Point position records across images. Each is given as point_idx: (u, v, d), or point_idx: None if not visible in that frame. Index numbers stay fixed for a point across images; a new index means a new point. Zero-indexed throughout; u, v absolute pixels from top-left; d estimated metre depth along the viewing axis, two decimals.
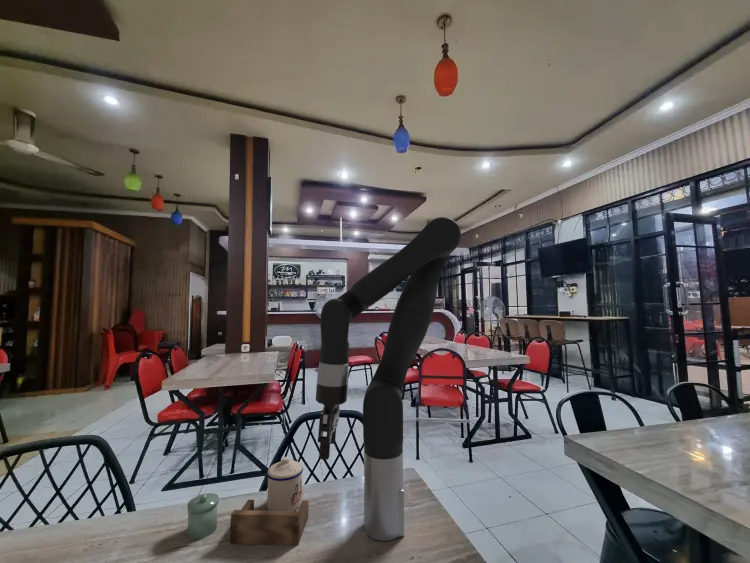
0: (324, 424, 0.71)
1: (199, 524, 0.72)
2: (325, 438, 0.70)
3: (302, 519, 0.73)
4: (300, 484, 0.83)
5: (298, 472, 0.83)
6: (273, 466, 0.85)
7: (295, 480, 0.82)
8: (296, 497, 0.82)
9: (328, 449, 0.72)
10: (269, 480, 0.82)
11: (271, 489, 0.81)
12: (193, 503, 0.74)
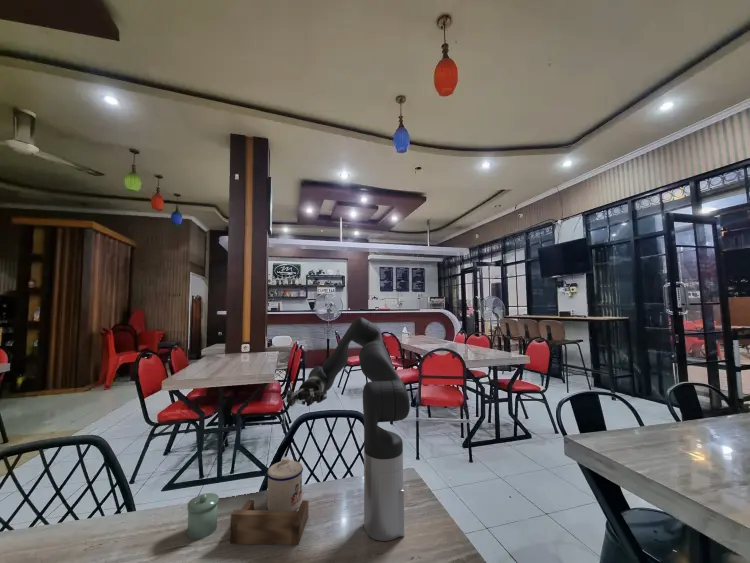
0: None
1: (199, 524, 0.72)
2: None
3: (302, 519, 0.73)
4: (300, 484, 0.83)
5: (298, 472, 0.83)
6: (273, 466, 0.85)
7: (295, 480, 0.82)
8: (296, 497, 0.82)
9: (291, 397, 1.01)
10: (269, 480, 0.82)
11: (271, 489, 0.81)
12: (193, 503, 0.74)
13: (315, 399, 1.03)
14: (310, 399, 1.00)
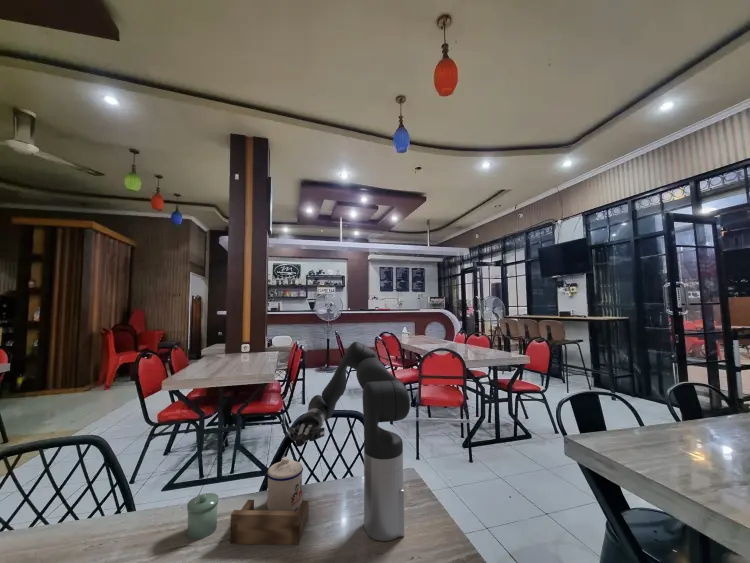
0: None
1: (199, 524, 0.72)
2: None
3: (302, 519, 0.73)
4: (300, 484, 0.83)
5: (298, 472, 0.83)
6: (273, 466, 0.84)
7: (295, 480, 0.82)
8: (296, 497, 0.82)
9: (298, 437, 1.00)
10: (269, 480, 0.82)
11: (271, 489, 0.81)
12: (193, 503, 0.74)
13: (308, 438, 1.02)
14: (302, 439, 0.99)
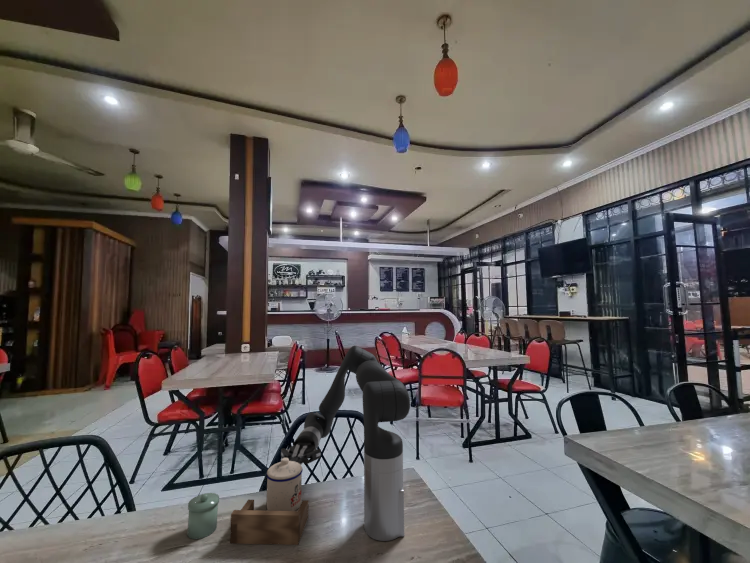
0: None
1: (200, 523, 0.72)
2: None
3: (302, 519, 0.73)
4: (300, 485, 0.83)
5: (298, 473, 0.82)
6: (272, 467, 0.84)
7: (295, 481, 0.81)
8: (295, 497, 0.81)
9: (292, 460, 0.94)
10: (268, 481, 0.81)
11: (271, 490, 0.80)
12: (194, 502, 0.74)
13: (302, 460, 0.95)
14: (297, 462, 0.93)
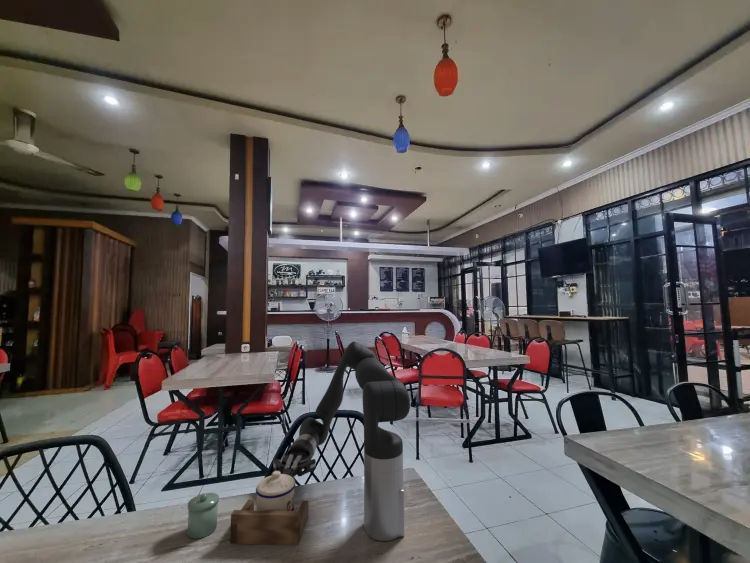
0: None
1: (200, 523, 0.72)
2: None
3: (302, 519, 0.73)
4: (292, 501, 0.76)
5: (290, 488, 0.75)
6: (262, 481, 0.77)
7: (287, 497, 0.75)
8: None
9: (284, 472, 0.87)
10: (258, 497, 0.74)
11: (260, 508, 0.73)
12: (193, 502, 0.74)
13: (296, 472, 0.88)
14: (289, 474, 0.86)
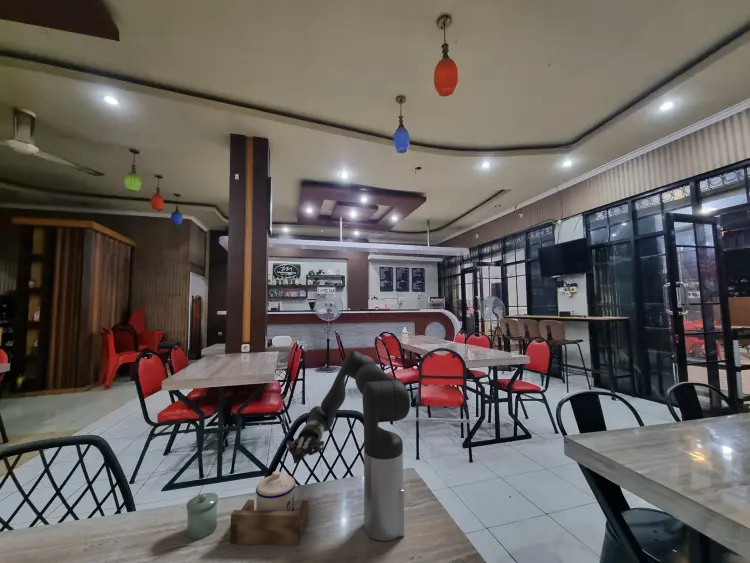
0: None
1: (201, 523, 0.72)
2: None
3: (302, 519, 0.73)
4: (292, 501, 0.76)
5: (290, 488, 0.75)
6: (262, 481, 0.77)
7: (287, 497, 0.75)
8: None
9: (297, 451, 0.99)
10: (258, 497, 0.74)
11: (260, 508, 0.73)
12: (192, 503, 0.74)
13: (307, 451, 1.01)
14: (302, 453, 0.98)
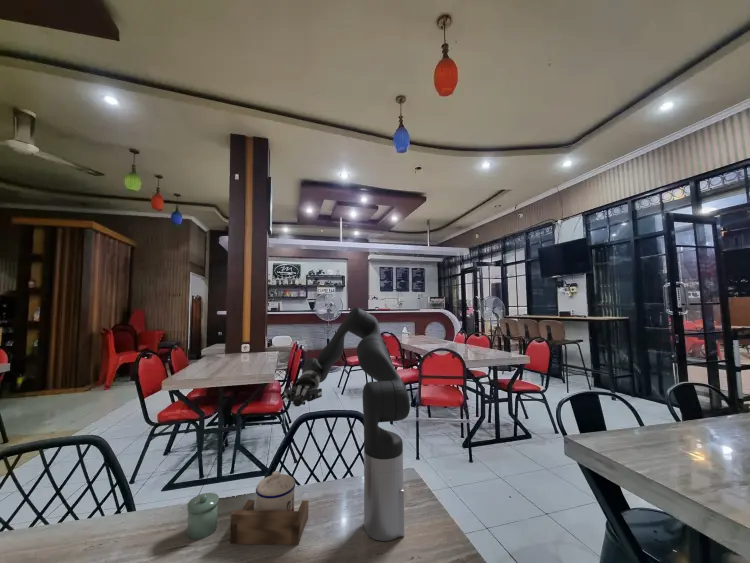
0: None
1: (202, 524, 0.72)
2: None
3: (302, 519, 0.73)
4: (292, 501, 0.76)
5: (290, 488, 0.75)
6: (262, 481, 0.77)
7: (287, 497, 0.75)
8: None
9: (296, 397, 0.99)
10: (258, 497, 0.74)
11: (260, 508, 0.73)
12: (193, 504, 0.73)
13: (305, 398, 1.01)
14: (301, 399, 0.98)
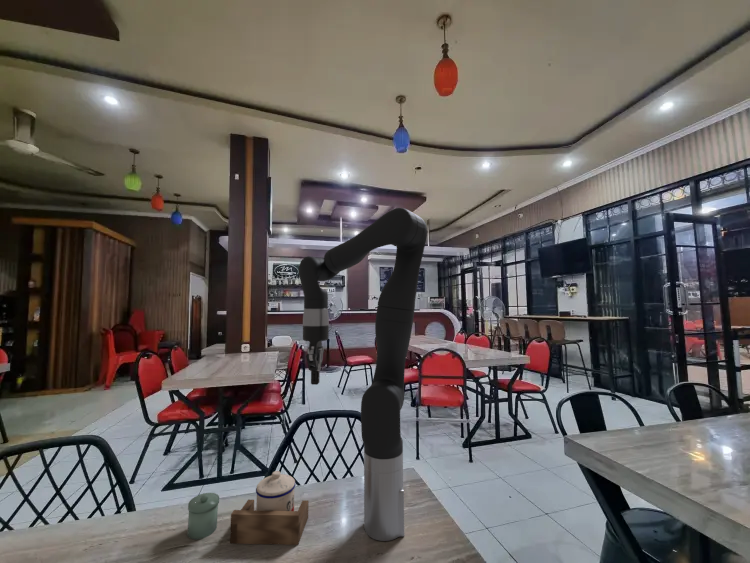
0: (311, 360, 0.90)
1: (205, 523, 0.72)
2: (314, 366, 0.91)
3: (302, 519, 0.73)
4: (292, 501, 0.76)
5: (290, 488, 0.75)
6: (262, 481, 0.77)
7: (287, 497, 0.75)
8: None
9: (317, 376, 0.93)
10: (258, 497, 0.74)
11: (260, 508, 0.73)
12: (194, 504, 0.73)
13: None
14: None
